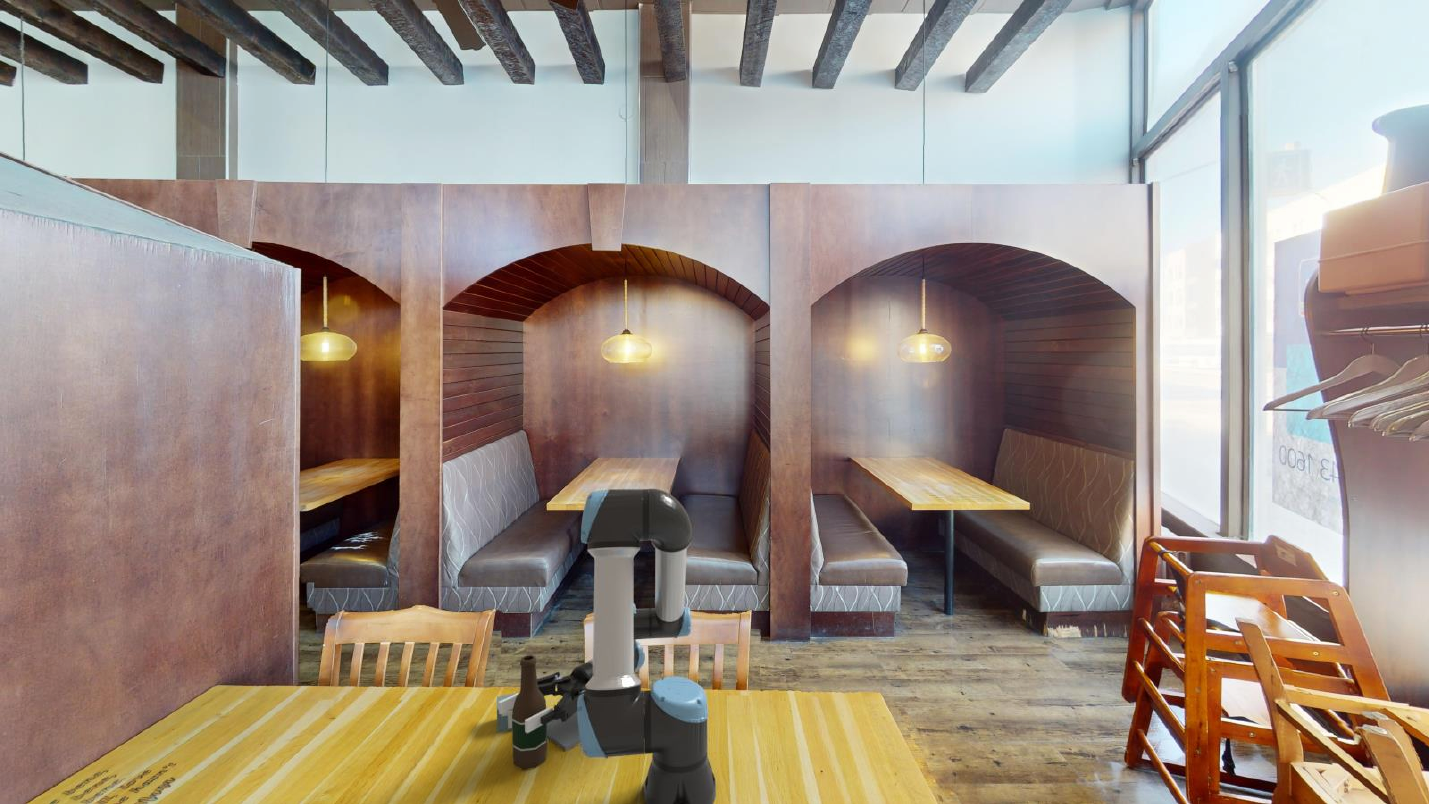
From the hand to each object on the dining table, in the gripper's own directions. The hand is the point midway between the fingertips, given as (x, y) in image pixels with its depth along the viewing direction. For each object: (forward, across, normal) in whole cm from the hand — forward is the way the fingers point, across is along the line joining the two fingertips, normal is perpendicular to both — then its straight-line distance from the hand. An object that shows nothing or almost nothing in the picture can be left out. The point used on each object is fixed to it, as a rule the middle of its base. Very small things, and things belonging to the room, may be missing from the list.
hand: (512, 717), depth 131 cm
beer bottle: (-4, 0, -12) cm, 13 cm away
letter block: (-9, +16, -12) cm, 22 cm away
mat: (-17, +2, -12) cm, 21 cm away
